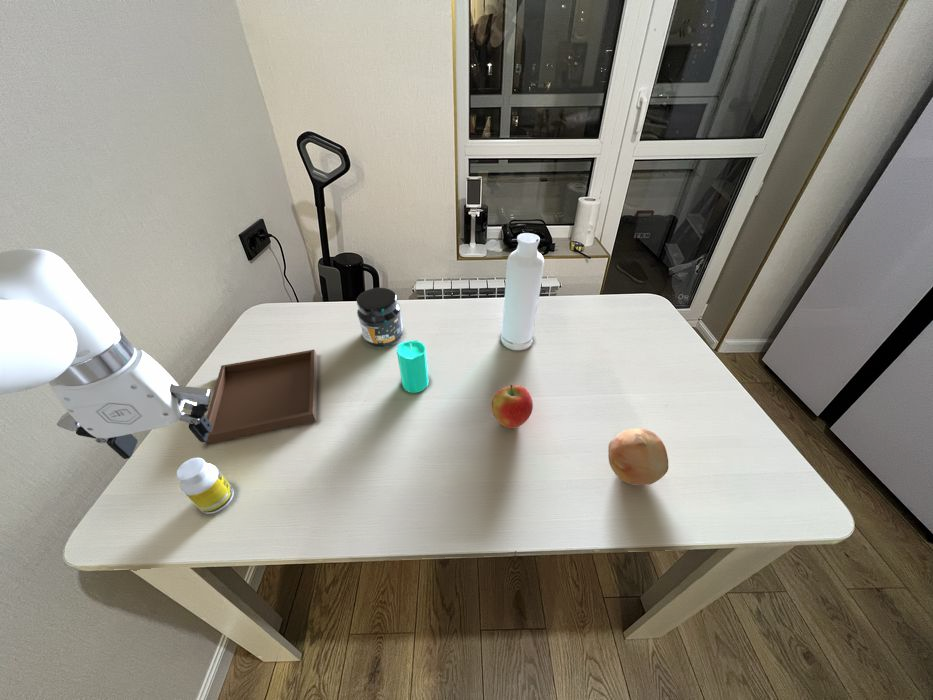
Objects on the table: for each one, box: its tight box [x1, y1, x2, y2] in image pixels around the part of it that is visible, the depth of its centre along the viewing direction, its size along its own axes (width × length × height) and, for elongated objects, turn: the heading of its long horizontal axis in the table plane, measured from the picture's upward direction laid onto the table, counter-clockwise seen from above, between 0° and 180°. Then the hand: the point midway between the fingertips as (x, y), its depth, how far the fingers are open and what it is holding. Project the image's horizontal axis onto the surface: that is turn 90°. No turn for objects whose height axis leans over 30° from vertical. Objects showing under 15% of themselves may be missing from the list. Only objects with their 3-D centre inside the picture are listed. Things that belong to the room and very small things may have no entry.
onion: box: [607, 427, 669, 486], centre depth 66 cm, size 10×10×10 cm
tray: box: [204, 348, 318, 446], centre depth 82 cm, size 21×21×3 cm
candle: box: [396, 340, 429, 394], centre depth 82 cm, size 6×6×12 cm
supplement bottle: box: [175, 457, 235, 515], centre depth 62 cm, size 5×5×10 cm
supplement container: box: [356, 287, 404, 348], centre depth 95 cm, size 10×10×12 cm
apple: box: [490, 384, 534, 429], centre depth 75 cm, size 8×8×10 cm
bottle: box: [500, 232, 545, 351], centre depth 89 cm, size 8×8×28 cm
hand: (169, 442), depth 55 cm, fingers open, 9 cm apart
